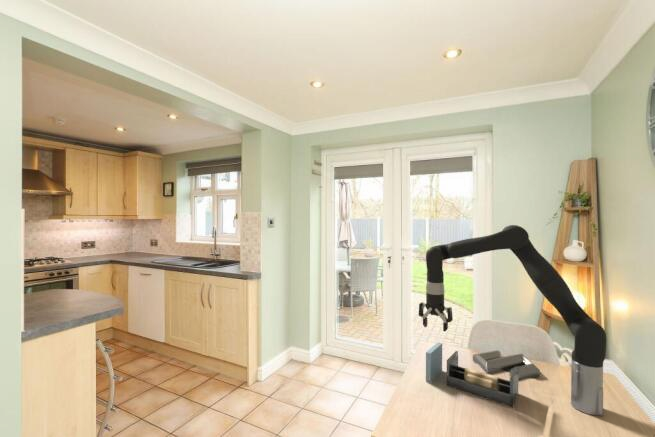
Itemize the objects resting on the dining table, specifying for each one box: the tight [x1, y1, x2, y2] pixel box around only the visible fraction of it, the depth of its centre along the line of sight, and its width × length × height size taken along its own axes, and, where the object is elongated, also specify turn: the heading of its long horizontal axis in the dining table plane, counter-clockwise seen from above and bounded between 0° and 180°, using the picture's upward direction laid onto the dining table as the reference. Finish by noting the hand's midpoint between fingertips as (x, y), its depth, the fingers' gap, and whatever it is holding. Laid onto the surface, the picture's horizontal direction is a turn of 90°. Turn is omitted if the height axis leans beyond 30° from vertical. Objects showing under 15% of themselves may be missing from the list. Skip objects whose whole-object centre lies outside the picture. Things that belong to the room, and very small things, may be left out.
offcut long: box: [465, 367, 499, 391], centre depth 129 cm, size 12×2×7 cm, turn 51°
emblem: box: [472, 350, 541, 381], centre depth 151 cm, size 28×5×28 cm
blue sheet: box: [425, 341, 443, 384], centre depth 141 cm, size 14×2×14 cm, turn 141°
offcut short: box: [467, 374, 493, 389], centre depth 127 cm, size 9×2×6 cm, turn 51°
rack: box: [446, 350, 519, 409], centre depth 130 cm, size 24×12×12 cm, turn 51°
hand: (435, 328), depth 142 cm, fingers open, 8 cm apart
